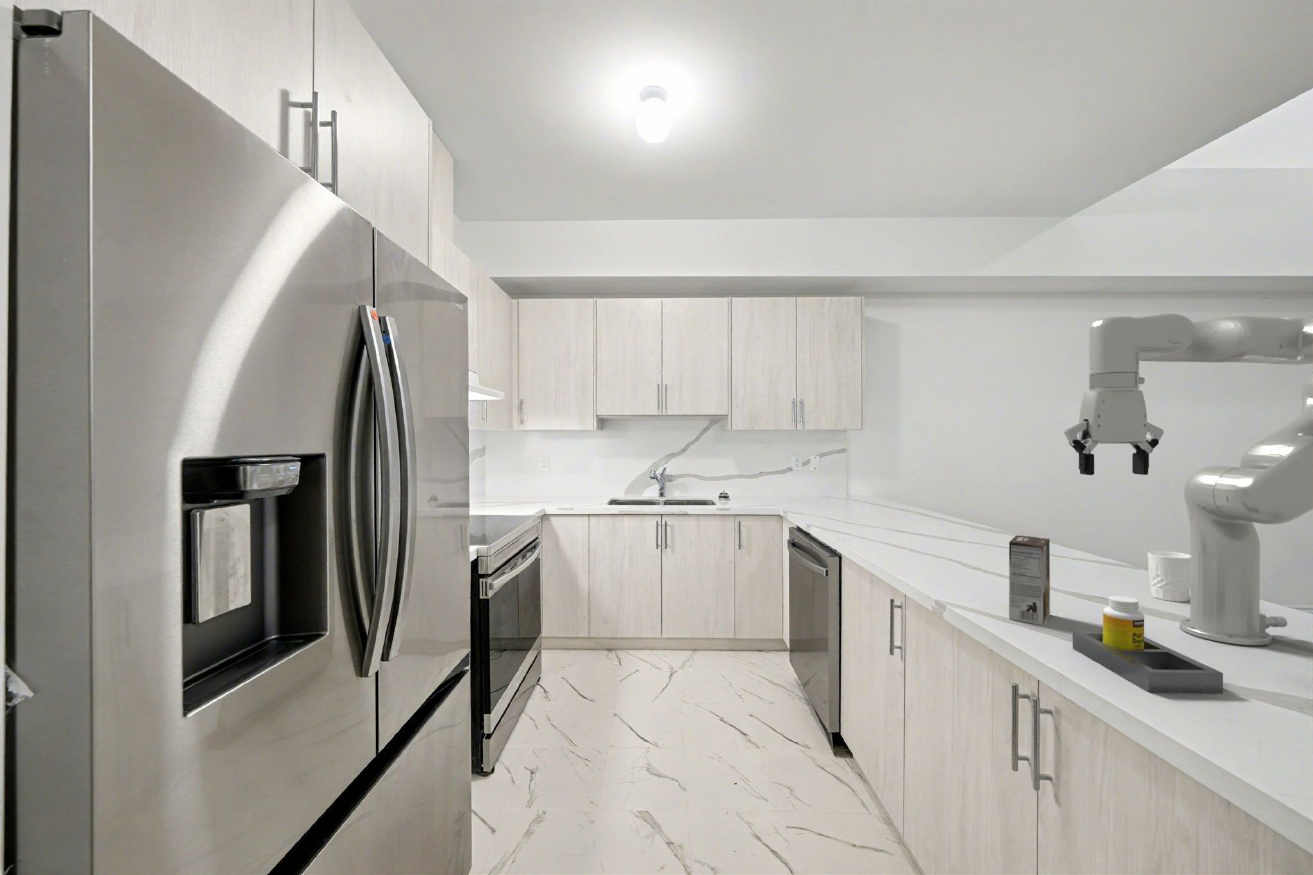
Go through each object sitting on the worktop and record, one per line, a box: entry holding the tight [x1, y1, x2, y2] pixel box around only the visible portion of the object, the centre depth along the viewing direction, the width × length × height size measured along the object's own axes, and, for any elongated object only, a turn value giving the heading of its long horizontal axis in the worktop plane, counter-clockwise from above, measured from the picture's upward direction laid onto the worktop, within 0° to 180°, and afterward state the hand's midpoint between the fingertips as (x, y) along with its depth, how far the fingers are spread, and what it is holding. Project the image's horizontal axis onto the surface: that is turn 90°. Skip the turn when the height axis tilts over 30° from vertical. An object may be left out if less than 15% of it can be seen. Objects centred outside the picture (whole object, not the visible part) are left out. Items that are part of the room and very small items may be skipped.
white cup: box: [1147, 550, 1191, 603], centre depth 139 cm, size 8×8×10 cm
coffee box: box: [1008, 535, 1051, 626], centre depth 126 cm, size 9×6×16 cm
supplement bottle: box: [1102, 595, 1145, 649], centre depth 103 cm, size 6×6×10 cm
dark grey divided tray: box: [1072, 631, 1224, 694], centre depth 99 cm, size 18×10×3 cm, turn 177°
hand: (1113, 474), depth 115 cm, fingers open, 9 cm apart
